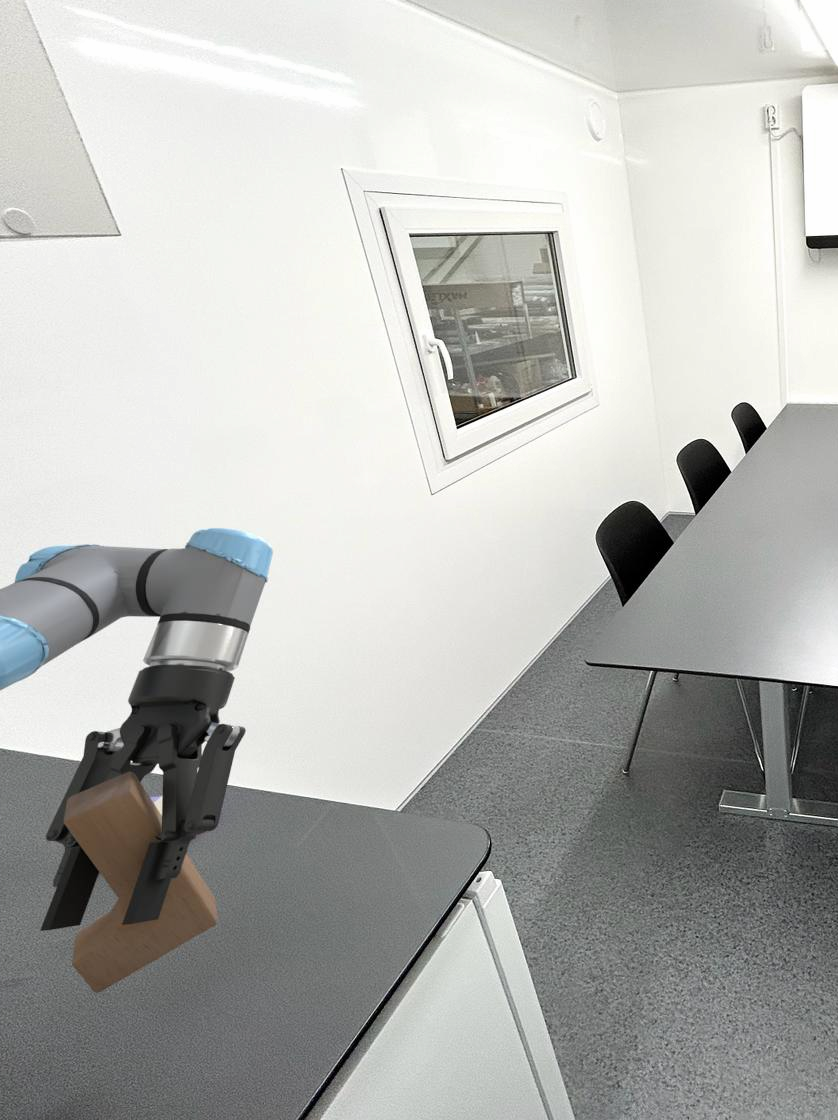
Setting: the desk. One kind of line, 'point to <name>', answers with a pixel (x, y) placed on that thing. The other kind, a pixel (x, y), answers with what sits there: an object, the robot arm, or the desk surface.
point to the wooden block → (130, 883)
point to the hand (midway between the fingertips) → (100, 924)
